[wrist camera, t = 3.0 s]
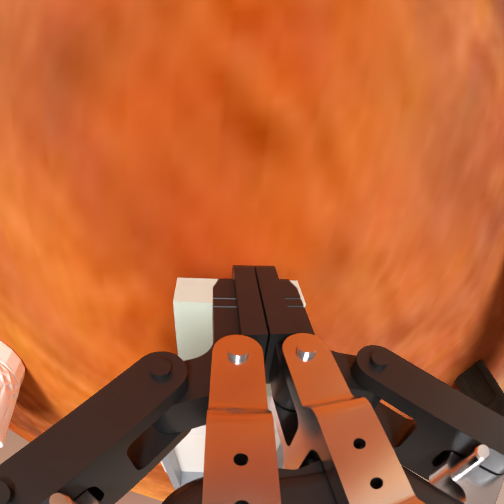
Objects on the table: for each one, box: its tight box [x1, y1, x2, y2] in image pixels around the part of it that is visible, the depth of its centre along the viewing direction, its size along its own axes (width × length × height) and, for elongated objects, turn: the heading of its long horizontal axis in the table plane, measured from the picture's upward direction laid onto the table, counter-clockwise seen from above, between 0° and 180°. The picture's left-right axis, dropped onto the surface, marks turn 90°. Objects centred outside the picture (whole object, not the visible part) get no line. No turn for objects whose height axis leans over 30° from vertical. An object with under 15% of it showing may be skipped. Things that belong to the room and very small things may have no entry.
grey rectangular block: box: [173, 278, 306, 396], centre depth 22 cm, size 8×10×4 cm
